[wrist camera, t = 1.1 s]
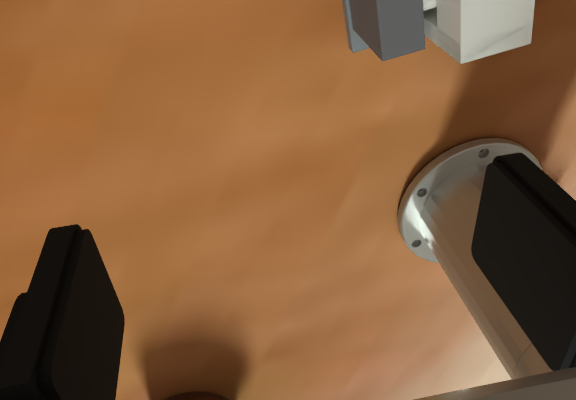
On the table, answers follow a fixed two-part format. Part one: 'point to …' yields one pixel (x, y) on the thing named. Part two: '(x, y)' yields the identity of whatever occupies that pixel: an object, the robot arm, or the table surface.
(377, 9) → the rail
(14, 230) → the table surface
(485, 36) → the grooved white cube
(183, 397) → the food container
